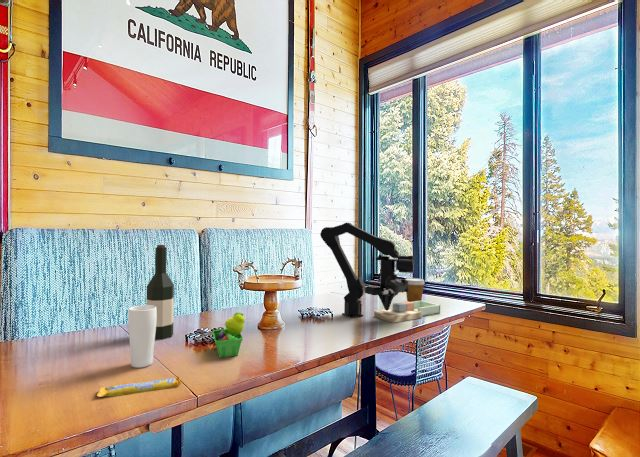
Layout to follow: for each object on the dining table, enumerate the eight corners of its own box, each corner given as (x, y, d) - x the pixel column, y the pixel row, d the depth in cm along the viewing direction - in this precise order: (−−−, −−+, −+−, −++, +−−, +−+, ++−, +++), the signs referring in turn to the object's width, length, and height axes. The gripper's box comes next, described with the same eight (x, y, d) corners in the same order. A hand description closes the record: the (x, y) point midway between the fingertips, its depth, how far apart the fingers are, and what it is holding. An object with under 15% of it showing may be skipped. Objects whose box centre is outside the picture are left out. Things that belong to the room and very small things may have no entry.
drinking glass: (148, 358, 102) (149, 303, 102) (160, 364, 98) (161, 307, 98) (122, 365, 97) (123, 307, 97) (134, 371, 93) (135, 312, 93)
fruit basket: (211, 346, 113) (212, 309, 112) (241, 344, 116) (241, 307, 116) (215, 359, 102) (215, 318, 102) (247, 356, 105) (248, 316, 105)
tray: (418, 316, 154) (419, 308, 154) (400, 311, 163) (400, 303, 163) (440, 313, 161) (440, 305, 161) (420, 308, 170) (421, 300, 170)
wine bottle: (163, 340, 117) (164, 246, 117) (140, 338, 119) (141, 245, 118) (178, 333, 125) (179, 244, 125) (156, 331, 127) (157, 244, 127)
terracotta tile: (407, 311, 153) (407, 303, 153) (400, 309, 157) (400, 302, 157) (414, 310, 155) (414, 303, 155) (407, 308, 159) (407, 301, 159)
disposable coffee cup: (426, 303, 180) (427, 279, 180) (420, 307, 172) (421, 281, 172) (407, 301, 185) (408, 277, 185) (401, 304, 177) (401, 279, 177)
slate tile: (399, 312, 151) (399, 305, 151) (392, 310, 154) (392, 303, 154) (406, 311, 153) (406, 304, 153) (399, 309, 156) (399, 302, 156)
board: (392, 322, 144) (392, 316, 144) (374, 316, 153) (374, 310, 153) (421, 317, 152) (421, 312, 152) (402, 312, 161) (402, 306, 161)
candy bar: (180, 381, 89) (180, 374, 89) (181, 389, 85) (181, 381, 85) (99, 393, 82) (99, 384, 82) (96, 401, 78) (96, 392, 78)
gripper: (383, 275, 138) (382, 317, 138) (418, 272, 148) (418, 311, 148) (364, 272, 147) (363, 311, 148) (399, 269, 157) (398, 306, 157)
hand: (386, 310), depth 150 cm, fingers closed
